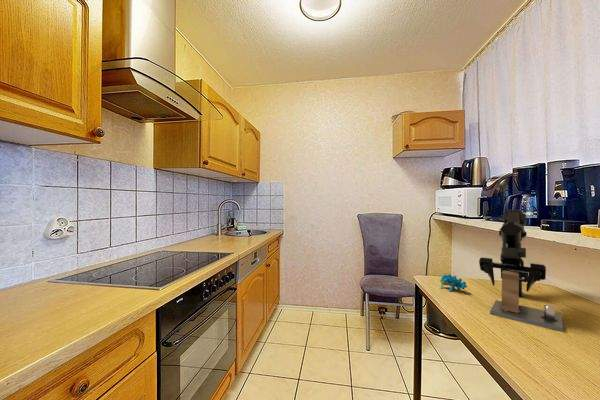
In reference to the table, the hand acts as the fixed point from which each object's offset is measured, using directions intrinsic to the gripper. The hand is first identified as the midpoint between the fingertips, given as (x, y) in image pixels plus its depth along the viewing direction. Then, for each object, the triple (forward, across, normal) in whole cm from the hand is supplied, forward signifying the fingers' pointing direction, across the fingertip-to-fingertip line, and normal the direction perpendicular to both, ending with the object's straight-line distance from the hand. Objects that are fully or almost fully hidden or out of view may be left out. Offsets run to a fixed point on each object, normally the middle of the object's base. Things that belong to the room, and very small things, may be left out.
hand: (509, 287), depth 90 cm
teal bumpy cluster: (-5, -21, +18) cm, 28 cm away
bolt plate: (+5, +4, +8) cm, 10 cm away
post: (+5, 0, +7) cm, 8 cm away
